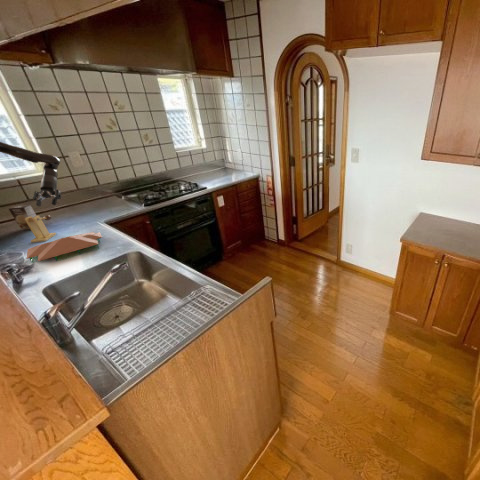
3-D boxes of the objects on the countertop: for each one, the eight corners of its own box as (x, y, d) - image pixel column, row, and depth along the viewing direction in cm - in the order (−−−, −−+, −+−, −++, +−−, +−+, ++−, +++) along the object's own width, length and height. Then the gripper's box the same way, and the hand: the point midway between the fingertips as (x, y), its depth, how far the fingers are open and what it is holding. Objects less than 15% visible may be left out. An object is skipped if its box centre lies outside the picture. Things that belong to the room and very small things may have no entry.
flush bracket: (42, 235, 171) (30, 214, 164) (56, 234, 173) (44, 213, 166) (31, 242, 163) (17, 221, 156) (46, 241, 164) (33, 219, 157)
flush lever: (47, 220, 174) (45, 215, 173) (53, 219, 175) (52, 214, 174) (28, 223, 160) (26, 217, 160) (35, 222, 161) (33, 216, 160)
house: (106, 247, 155) (100, 234, 151) (29, 269, 135) (20, 256, 131) (101, 235, 170) (95, 223, 166) (30, 253, 150) (22, 241, 146)
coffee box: (20, 230, 180) (7, 208, 172) (28, 226, 186) (15, 205, 178) (35, 229, 181) (22, 207, 174) (42, 225, 187) (30, 204, 179)
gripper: (31, 181, 172) (28, 203, 168) (56, 179, 175) (53, 201, 170) (41, 187, 179) (38, 208, 175) (65, 185, 182) (63, 206, 177)
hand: (46, 205), depth 172 cm, fingers open, 8 cm apart
